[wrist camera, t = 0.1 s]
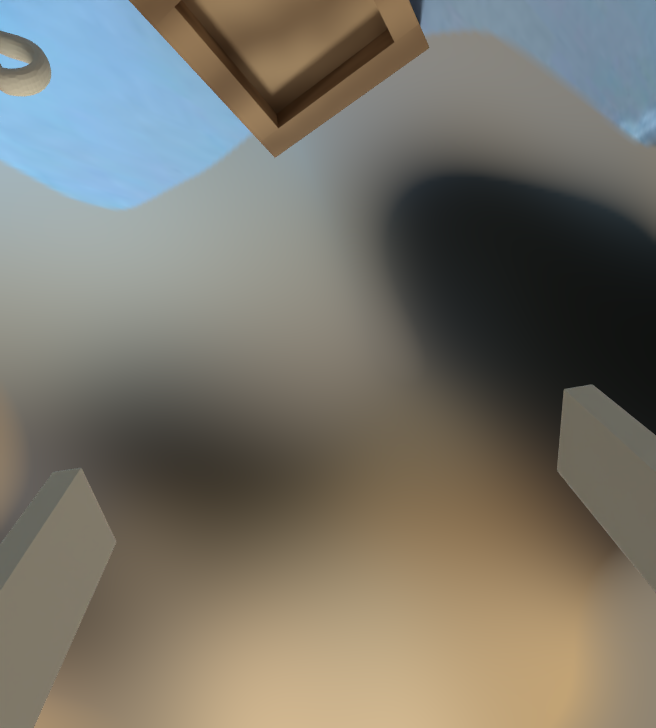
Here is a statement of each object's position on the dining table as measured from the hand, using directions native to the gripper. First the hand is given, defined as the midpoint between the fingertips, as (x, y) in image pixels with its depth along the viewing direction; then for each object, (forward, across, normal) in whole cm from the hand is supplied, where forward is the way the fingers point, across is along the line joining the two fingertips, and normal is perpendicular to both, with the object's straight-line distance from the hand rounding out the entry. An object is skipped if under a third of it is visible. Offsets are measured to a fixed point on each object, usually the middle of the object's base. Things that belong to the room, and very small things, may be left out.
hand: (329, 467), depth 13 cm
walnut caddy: (+32, +2, +17) cm, 36 cm away
